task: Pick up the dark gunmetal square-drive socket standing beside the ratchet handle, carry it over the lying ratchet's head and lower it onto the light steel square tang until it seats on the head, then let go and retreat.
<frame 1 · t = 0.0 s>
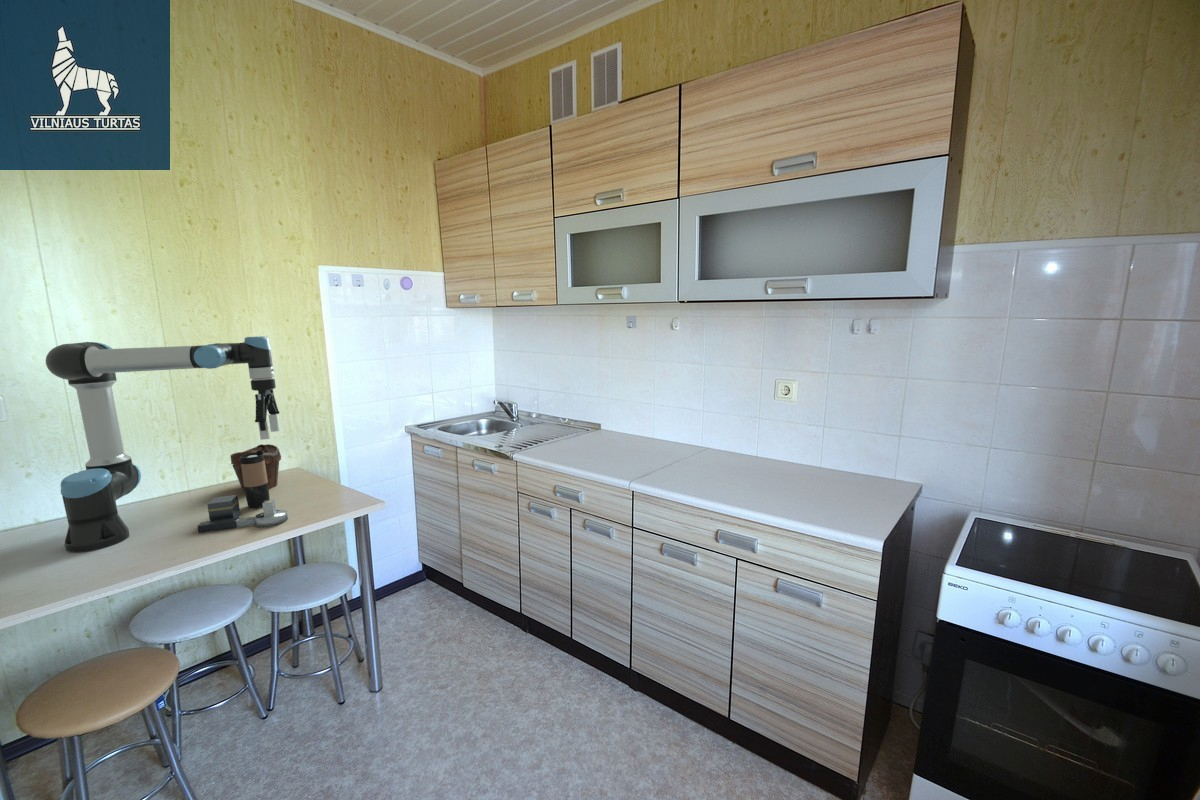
hand: (270, 435, 192), 28 cm above the table, fingers open, 13 cm apart
case: (260, 487, 220), on the table
travel mug: (259, 505, 198), on the table
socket: (226, 520, 184), on the table
ratchet: (271, 521, 181), on the table
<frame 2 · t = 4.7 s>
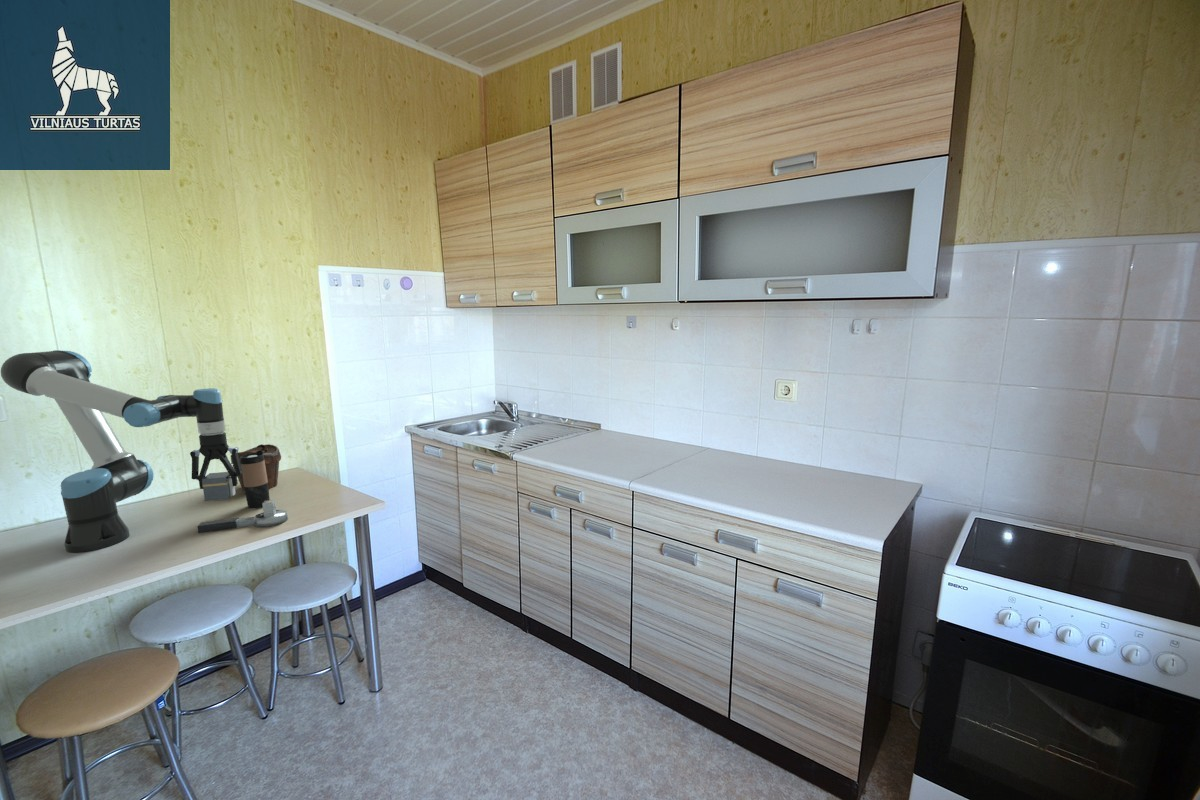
hand: (220, 495, 182), 9 cm above the table, fingers closed on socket, 7 cm apart
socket: (220, 496, 182), point 9 cm above the table, touching gripper
everything else where it was.
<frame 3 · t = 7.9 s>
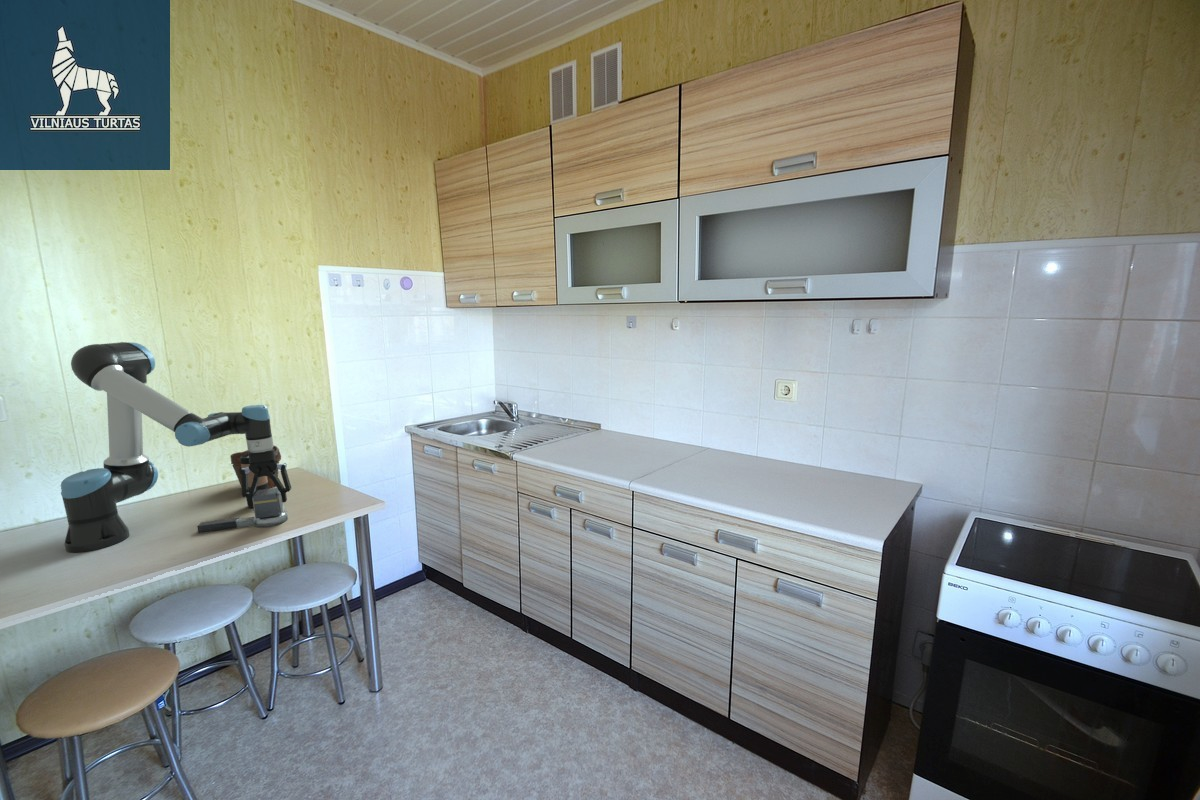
hand: (270, 512, 181), 3 cm above the table, fingers closed on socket, 7 cm apart
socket: (270, 513, 181), point 3 cm above the table, touching gripper
everything else where it was.
when the fingers open (3 cm above the table, at t = 8.5 s): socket stays where it is, resting on ratchet.
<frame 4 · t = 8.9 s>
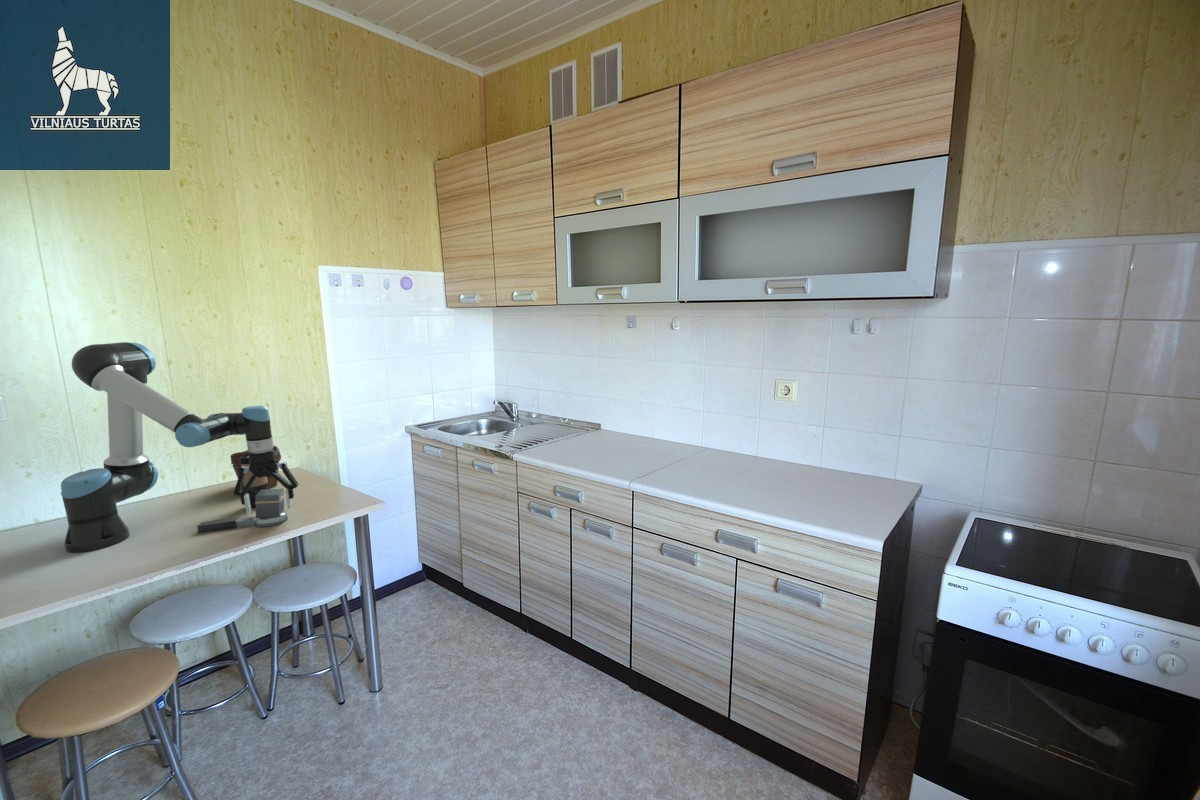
hand: (269, 510, 181), 4 cm above the table, fingers open, 12 cm apart
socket: (270, 514, 181), point 3 cm above the table, tilted 6°, touching ratchet
everything else where it was.
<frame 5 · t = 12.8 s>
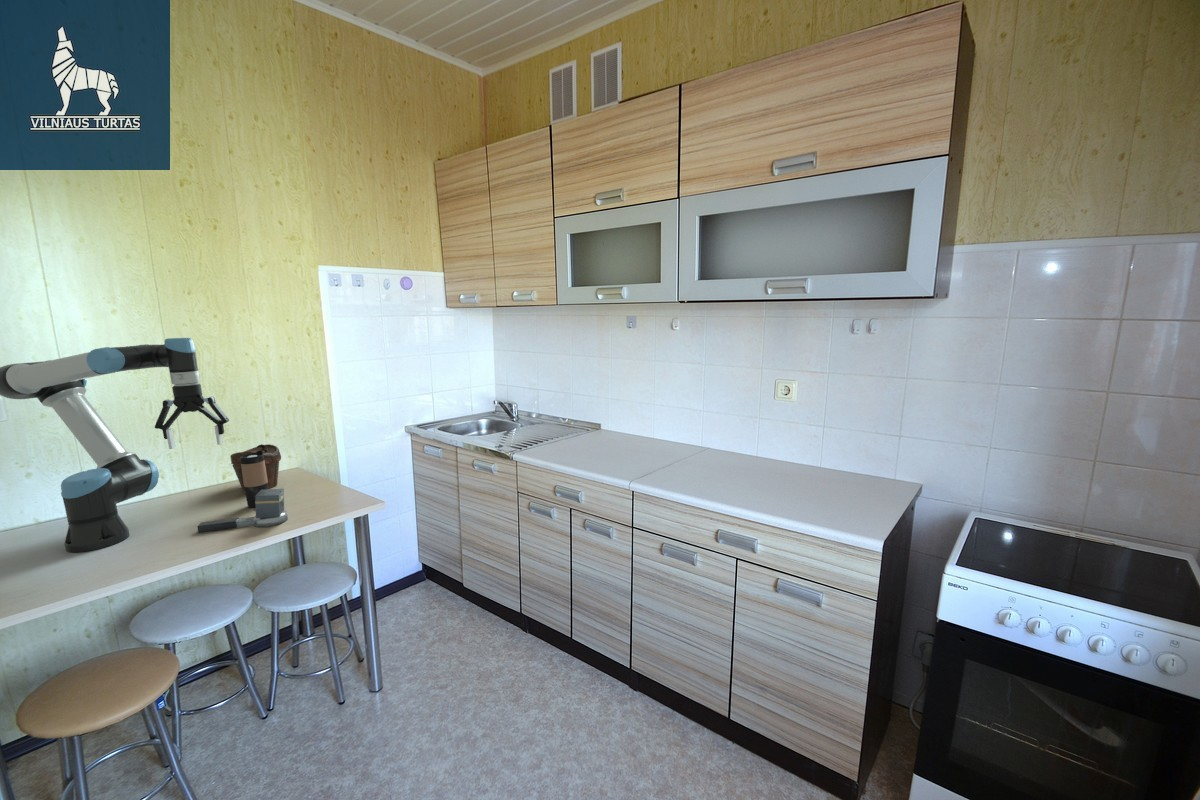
hand: (196, 446, 175), 29 cm above the table, fingers open, 13 cm apart
nothing on the table moved.
at the end: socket 0.0 cm off-centre on the ratchet, point 2.9 cm above the ratchet's base; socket tilted 6°; the gripper is holding nothing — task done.
